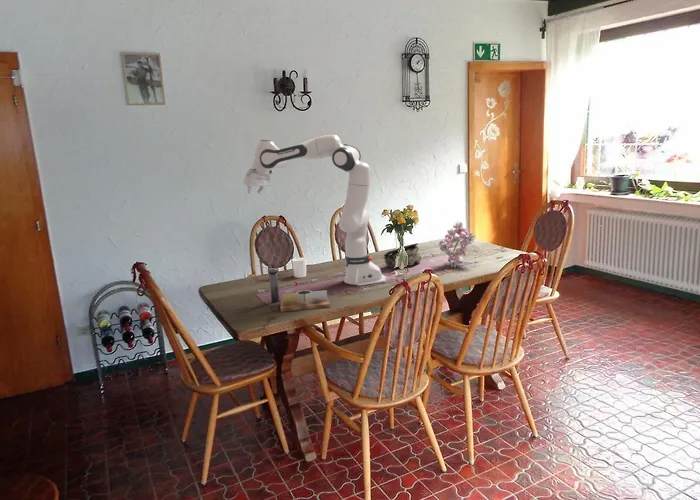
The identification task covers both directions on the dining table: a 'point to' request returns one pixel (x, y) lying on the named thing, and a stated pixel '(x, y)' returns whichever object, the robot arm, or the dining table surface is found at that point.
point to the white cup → (299, 267)
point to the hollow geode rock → (411, 252)
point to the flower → (447, 244)
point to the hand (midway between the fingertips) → (254, 193)
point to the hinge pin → (274, 284)
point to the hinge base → (305, 306)
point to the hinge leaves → (304, 297)
